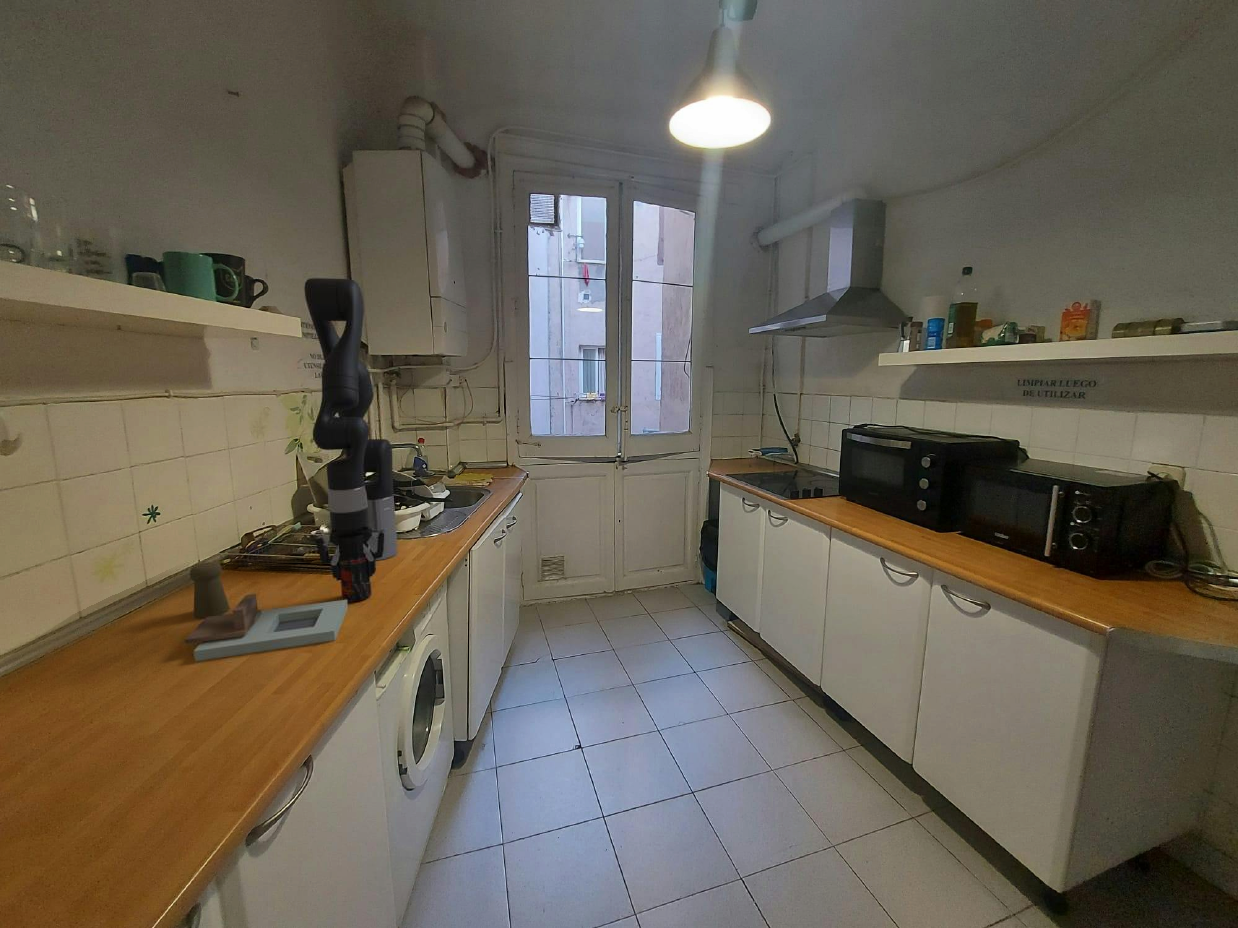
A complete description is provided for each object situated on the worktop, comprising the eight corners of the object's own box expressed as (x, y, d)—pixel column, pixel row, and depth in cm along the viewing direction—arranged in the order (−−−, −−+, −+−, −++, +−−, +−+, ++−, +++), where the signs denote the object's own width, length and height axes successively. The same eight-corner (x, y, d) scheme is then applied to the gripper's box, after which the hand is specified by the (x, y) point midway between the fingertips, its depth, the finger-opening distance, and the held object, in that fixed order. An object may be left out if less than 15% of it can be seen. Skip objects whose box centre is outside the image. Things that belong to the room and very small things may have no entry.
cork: (214, 619, 101) (206, 569, 99) (185, 618, 101) (177, 569, 99) (237, 605, 107) (230, 558, 105) (210, 605, 107) (203, 558, 105)
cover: (207, 620, 96) (204, 597, 95) (261, 613, 99) (258, 591, 98) (185, 643, 88) (181, 619, 87) (245, 635, 91) (241, 611, 90)
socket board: (226, 623, 100) (225, 614, 99) (347, 607, 107) (347, 599, 107) (195, 661, 87) (193, 651, 86) (335, 640, 94) (334, 630, 94)
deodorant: (375, 595, 112) (370, 533, 109) (347, 604, 108) (341, 540, 105) (365, 587, 116) (360, 527, 113) (338, 595, 112) (332, 533, 109)
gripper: (385, 499, 114) (391, 567, 117) (315, 504, 109) (322, 574, 112) (382, 508, 107) (388, 579, 110) (307, 513, 102) (315, 588, 105)
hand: (355, 576), depth 111 cm, fingers closed on deodorant, 6 cm apart
